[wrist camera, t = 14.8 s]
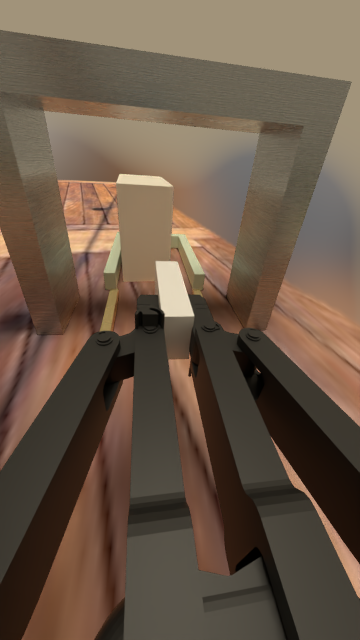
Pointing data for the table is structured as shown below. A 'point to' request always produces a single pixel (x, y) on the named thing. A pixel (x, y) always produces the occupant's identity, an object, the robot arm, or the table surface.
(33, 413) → the table surface
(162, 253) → the plug block
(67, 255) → the gray arch frame
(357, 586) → the table surface
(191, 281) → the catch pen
